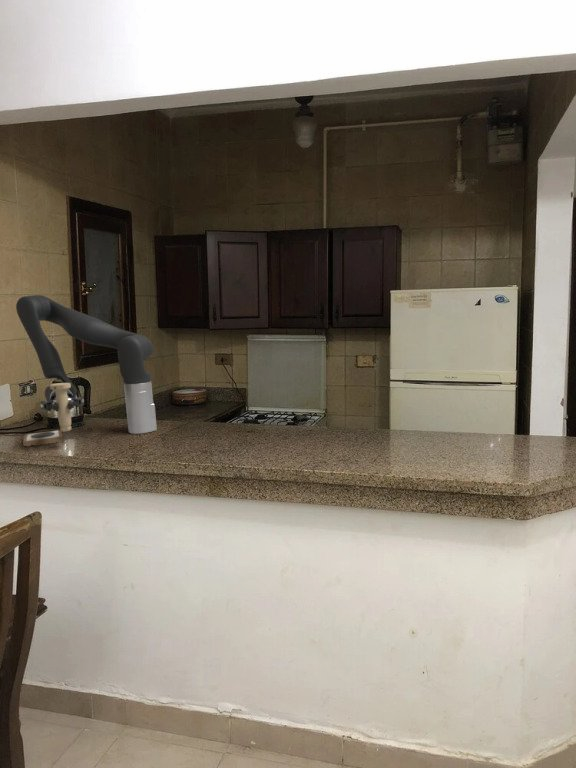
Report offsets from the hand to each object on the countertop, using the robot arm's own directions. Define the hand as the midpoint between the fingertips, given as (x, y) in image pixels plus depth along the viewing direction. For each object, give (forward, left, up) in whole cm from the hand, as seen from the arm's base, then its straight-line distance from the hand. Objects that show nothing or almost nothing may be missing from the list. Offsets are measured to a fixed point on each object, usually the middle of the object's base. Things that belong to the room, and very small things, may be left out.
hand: (63, 407), depth 185 cm
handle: (0, -3, -8) cm, 9 cm away
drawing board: (+7, -18, -13) cm, 24 cm away
